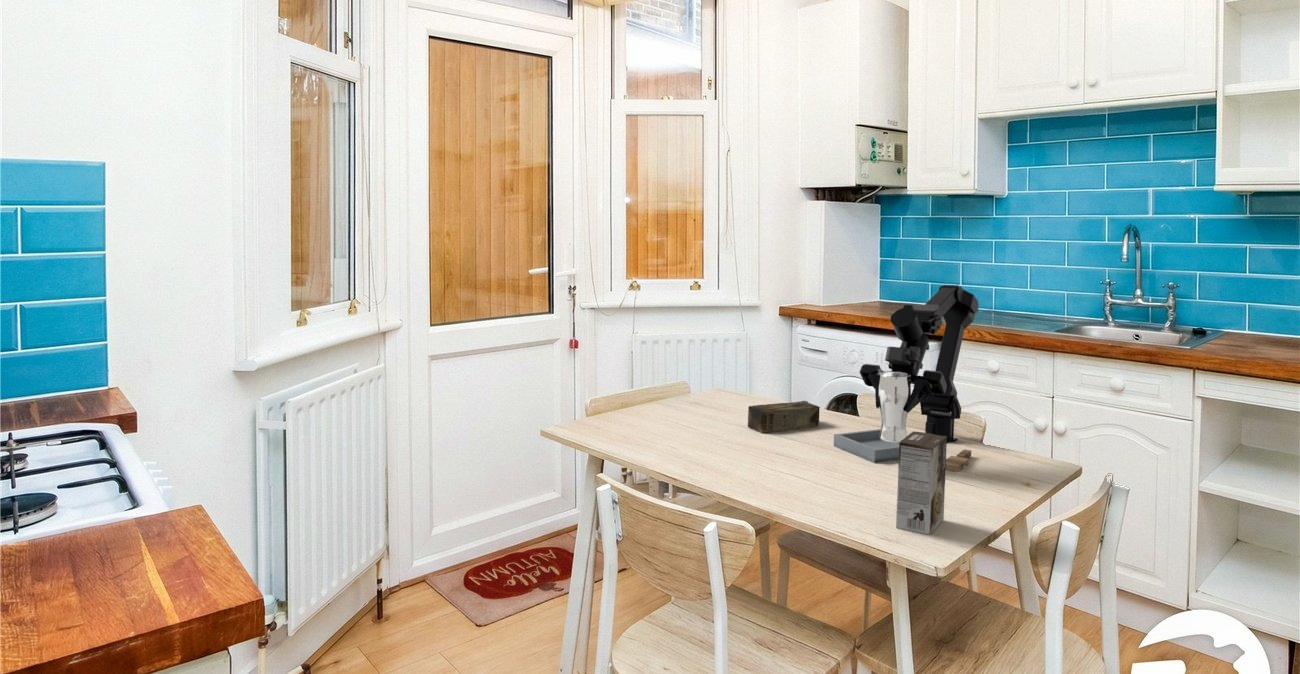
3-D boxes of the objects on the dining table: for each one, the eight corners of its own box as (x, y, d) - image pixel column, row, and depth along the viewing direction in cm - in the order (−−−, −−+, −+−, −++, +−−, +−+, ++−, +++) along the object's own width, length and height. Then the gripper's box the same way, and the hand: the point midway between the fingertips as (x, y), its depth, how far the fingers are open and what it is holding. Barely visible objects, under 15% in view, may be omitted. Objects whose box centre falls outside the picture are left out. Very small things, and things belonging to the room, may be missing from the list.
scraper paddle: (959, 455, 190) (959, 448, 189) (976, 457, 187) (976, 451, 187) (939, 468, 179) (940, 461, 178) (958, 471, 176) (958, 464, 176)
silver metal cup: (910, 444, 175) (912, 377, 173) (877, 442, 177) (879, 376, 175) (908, 435, 182) (910, 371, 180) (877, 433, 184) (878, 370, 182)
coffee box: (909, 513, 150) (913, 430, 148) (944, 520, 146) (948, 435, 144) (894, 528, 143) (897, 440, 141) (930, 535, 139) (934, 446, 137)
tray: (885, 439, 204) (886, 428, 203) (929, 455, 189) (929, 443, 189) (833, 446, 198) (834, 434, 197) (874, 463, 183) (874, 450, 183)
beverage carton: (820, 427, 218) (821, 403, 217) (761, 435, 210) (762, 410, 209) (803, 421, 225) (804, 398, 224) (745, 428, 217) (746, 404, 216)
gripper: (863, 329, 185) (842, 384, 178) (944, 335, 174) (925, 394, 167) (876, 358, 192) (856, 411, 185) (954, 365, 181) (936, 422, 174)
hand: (891, 409), depth 178 cm, fingers closed on silver metal cup, 6 cm apart
